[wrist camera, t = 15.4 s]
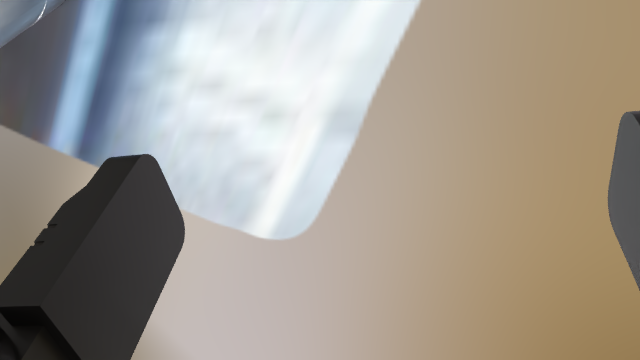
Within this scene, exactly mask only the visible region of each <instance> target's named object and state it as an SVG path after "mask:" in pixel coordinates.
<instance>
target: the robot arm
mask: <svg viewBox="0 0 640 360" xmlns="http://www.w3.org/2000/svg"><path fill="white" fill-rule="evenodd" d="M64 1H65V0H0V48H1V47H2V46H4V45H5V44H6V43H8V42H9V41H11V40H12V39H14V38H15V37H16V36H18V35H19V34H21V33H22V32H23V31H25V30H26V29H28V28H29V27H31V26H32V25H34V24H35V23H36V22H38V21H39V20H41V19H42V18H43V17H45V16H46V15H48V14H49V13H50V12H52V11H53V10H55V9H56V8H57V7H59V6H60V5H62V4H63V2H64ZM608 209H609V216H610V221H611V224H612V227H613V230H614V232H615V234H616V237H617V239H618V241H619V244H620V246H621V248H622V251H623V253H624V255H625V257H626V260H627V262H628V264H629V267H630V269H631V271H632V274H633V276H634V278H635V281H636V283H637V285H638V288H639V290H640V111H632V112H626V113H624V115H623V116H622V118H621V120H620V124H619V129H618V135H617V141H616V147H615V153H614V159H613V165H612V171H611V177H610V183H609V190H608ZM47 225H48V228H46V229H43V231H42V232H41V233H40V235H39V236H38V237H37V238H36V240H35V241H34V243H35V245H34V246H30V247H29V249H28V250H27V251H26V253H25V254H24V255H23V257H22V258H21V259H20V260H19V262H18V263H17V264H16V266H15V267H14V268H13V270H12V271H11V272H10V274H9V275H8V276H7V277H6V279H5V280H4V281H3V282H2V284H1V285H0V360H130V359H131V357H132V355H133V353H134V350H135V348H136V346H137V344H138V342H139V340H140V337H141V335H142V333H143V331H144V329H145V327H146V324H147V322H148V320H149V318H150V316H151V314H152V311H153V309H154V307H155V305H156V303H157V301H158V298H159V296H160V294H161V292H162V290H163V288H164V285H165V283H166V281H167V279H168V277H169V274H170V272H171V270H172V268H173V266H174V264H175V262H176V259H177V257H178V255H179V253H180V251H181V248H182V246H183V243H184V235H185V227H184V221H183V217H182V214H181V212H180V210H179V207H178V205H177V203H176V201H175V199H174V197H173V194H172V192H171V190H170V188H169V186H168V183H167V181H166V179H165V177H164V175H163V172H162V170H161V168H160V166H159V164H158V162H157V161H156V159H155V158H154V157H153V156H151V155H149V154H142V155H131V156H120V157H111V158H108V159H107V160H106V161H105V162H104V163H103V164H102V165H101V167H100V168H99V169H98V171H97V172H96V174H95V175H94V176H93V178H92V179H91V180H90V182H89V183H88V184H87V185H86V186H85V187H84V188H83V189H81V190H80V191H79V192H78V193H76V194H75V195H74V196H73V197H71V198H70V199H69V200H68V201H66V202H65V203H64V204H63V205H62V206H61V208H60V209H59V210H58V211H57V213H56V214H55V215H54V217H53V218H52V219H51V220H50V222H49V223H48V224H47Z"/></svg>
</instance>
